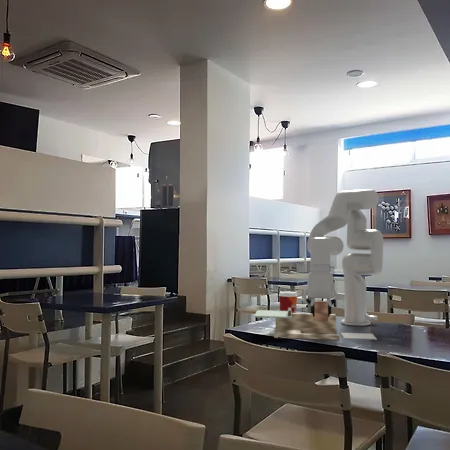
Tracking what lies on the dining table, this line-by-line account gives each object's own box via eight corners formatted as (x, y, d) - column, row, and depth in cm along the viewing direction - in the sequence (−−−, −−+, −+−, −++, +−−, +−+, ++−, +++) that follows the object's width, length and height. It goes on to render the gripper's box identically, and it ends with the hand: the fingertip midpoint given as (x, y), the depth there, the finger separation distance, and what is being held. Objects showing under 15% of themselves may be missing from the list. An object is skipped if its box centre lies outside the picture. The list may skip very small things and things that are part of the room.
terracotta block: (327, 318, 184) (326, 300, 184) (328, 321, 179) (327, 302, 179) (314, 318, 185) (313, 300, 185) (314, 321, 180) (314, 302, 180)
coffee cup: (297, 329, 197) (297, 293, 197) (277, 328, 198) (277, 293, 199) (298, 325, 205) (298, 291, 205) (279, 325, 206) (279, 291, 207)
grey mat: (372, 335, 185) (372, 333, 185) (376, 340, 175) (376, 338, 175) (341, 334, 187) (341, 332, 187) (343, 339, 177) (343, 337, 177)
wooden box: (335, 332, 190) (335, 314, 190) (339, 340, 174) (339, 320, 174) (275, 330, 193) (275, 312, 194) (274, 338, 177) (274, 318, 178)
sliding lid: (291, 312, 192) (291, 306, 192) (291, 318, 177) (291, 311, 177) (257, 311, 194) (257, 305, 194) (254, 317, 179) (254, 310, 179)
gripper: (341, 268, 185) (342, 314, 184) (298, 268, 187) (298, 314, 187) (343, 269, 177) (344, 318, 177) (298, 269, 180) (298, 317, 179)
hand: (321, 315), depth 182 cm, fingers closed on terracotta block, 5 cm apart
